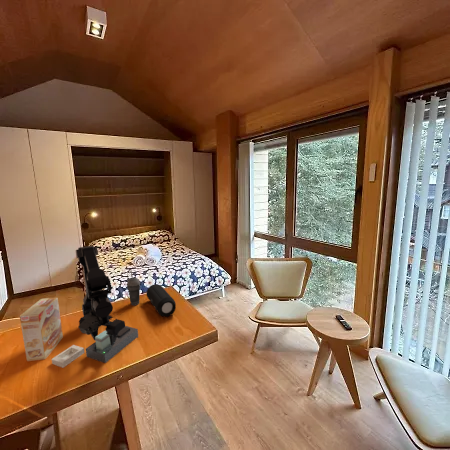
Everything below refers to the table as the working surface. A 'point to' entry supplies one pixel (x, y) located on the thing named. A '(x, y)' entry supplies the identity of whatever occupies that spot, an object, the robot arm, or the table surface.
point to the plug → (102, 341)
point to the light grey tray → (68, 356)
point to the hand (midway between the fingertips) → (104, 342)
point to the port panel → (121, 342)
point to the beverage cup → (134, 290)
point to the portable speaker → (161, 300)
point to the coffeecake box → (41, 328)
